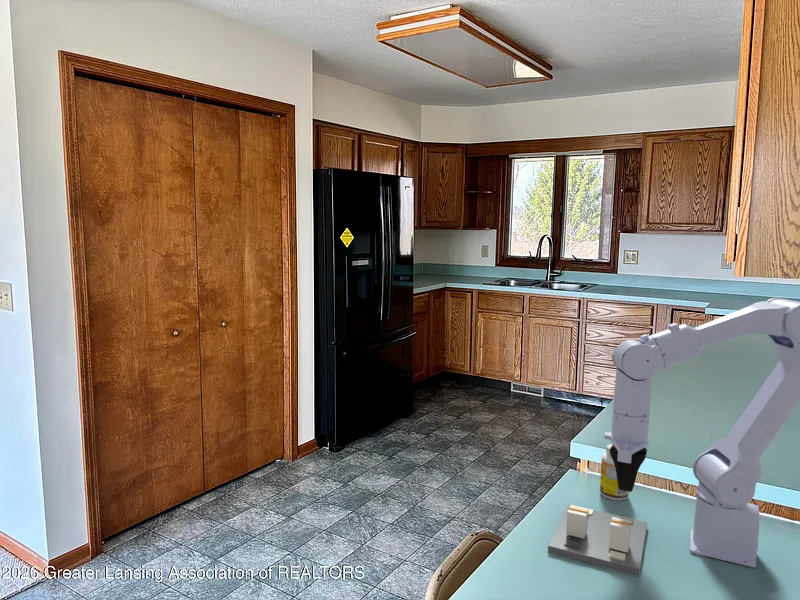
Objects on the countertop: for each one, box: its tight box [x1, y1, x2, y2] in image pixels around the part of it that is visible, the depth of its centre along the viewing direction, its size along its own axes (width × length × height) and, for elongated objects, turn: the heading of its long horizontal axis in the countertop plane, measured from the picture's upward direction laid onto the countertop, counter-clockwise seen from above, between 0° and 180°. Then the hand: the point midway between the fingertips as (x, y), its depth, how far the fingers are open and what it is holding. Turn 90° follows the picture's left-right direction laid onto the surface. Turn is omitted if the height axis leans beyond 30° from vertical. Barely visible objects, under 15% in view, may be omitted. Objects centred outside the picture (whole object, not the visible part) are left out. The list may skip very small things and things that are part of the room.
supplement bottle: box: [599, 443, 630, 501], centre depth 117 cm, size 6×6×10 cm
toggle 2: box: [609, 517, 632, 553], centre depth 95 cm, size 3×3×4 cm
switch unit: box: [547, 504, 648, 577], centre depth 100 cm, size 14×17×1 cm
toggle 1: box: [566, 504, 590, 539], centre depth 99 cm, size 3×3×4 cm
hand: (625, 489), depth 99 cm, fingers closed
